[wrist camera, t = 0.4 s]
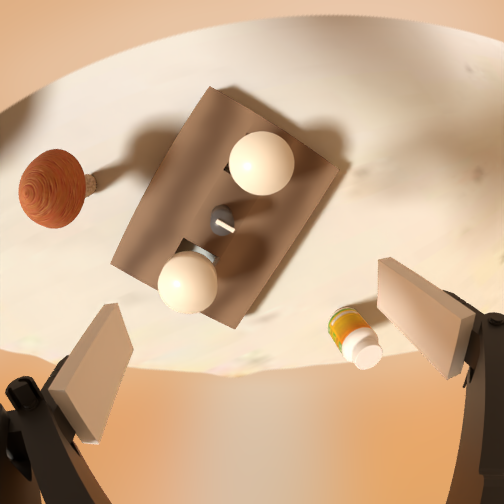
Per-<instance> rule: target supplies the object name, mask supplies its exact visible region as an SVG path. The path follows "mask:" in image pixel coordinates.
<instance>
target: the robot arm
mask: <svg viewBox="0 0 504 504" xmlns="http://www.w3.org/2000/svg"><path fill="white" fill-rule="evenodd" d="M377 308H378V309H379V310H380V311H381V312H382V313H383V314H384V315H385V316H386V317H387V318H388V319H389V320H390V321H391V322H392V323H393V324H394V325H395V326H396V327H397V328H398V329H399V330H400V331H401V332H402V333H403V334H404V335H405V336H406V337H407V338H408V339H409V340H410V342H411V343H412V344H413V345H414V346H415V347H416V348H417V349H418V350H419V351H420V352H421V353H422V354H423V355H424V356H425V357H426V358H427V359H428V360H429V361H430V363H432V365H433V366H434V367H435V368H436V369H437V370H438V371H439V372H440V373H441V374H442V375H443V377H444V378H445V379H447V380H448V379H450V378H452V377H454V376H456V375H458V374H460V373H461V370H462V367H463V364H464V361H465V362H466V363H467V364H468V365H469V370H468V373H467V376H466V379H465V382H464V385H463V388H465V386H466V384H467V387H466V400H465V409H464V418H463V426H462V433H461V439H460V445H459V450H458V456H457V462H456V466H455V470H454V475H453V479H452V483H451V487H450V491H449V495H448V498H447V502H446V504H504V315H503V314H500V313H495V312H494V313H487V314H485V315H484V314H483V313H481V312H480V311H479V310H477V309H476V308H474V307H473V306H471V305H470V304H468V303H466V302H465V301H464V300H462V299H460V297H458V296H457V295H455V294H454V293H451V292H448V291H445V290H441V289H439V288H438V287H436V286H435V285H433V284H432V283H430V282H429V281H427V280H426V279H424V278H423V277H421V276H420V275H418V274H417V273H415V272H413V271H412V270H410V269H409V268H407V267H406V266H404V265H402V264H401V263H399V262H398V261H396V260H395V259H393V258H391V257H389V258H384V259H379V260H378V297H377ZM133 350H134V349H133V346H132V344H131V341H130V338H129V335H128V333H127V330H126V327H125V324H124V321H123V318H122V315H121V312H120V309H119V306H118V303H114V304H106V305H104V306H103V307H102V309H101V310H100V311H99V313H98V314H97V316H96V317H95V318H94V320H93V321H92V323H91V324H90V326H89V327H88V328H87V330H86V331H85V333H84V334H83V336H82V337H81V339H80V340H79V342H78V343H77V345H76V346H75V348H74V349H73V351H72V352H71V354H70V355H67V356H66V357H65V358H63V359H62V360H61V361H60V362H59V363H58V364H57V366H56V368H55V369H54V371H53V372H52V374H51V375H50V377H49V378H48V380H47V382H46V383H45V384H44V386H43V388H42V389H41V391H40V390H39V388H38V387H37V385H36V383H35V381H34V380H33V378H32V377H29V376H23V377H20V378H17V379H15V380H14V381H12V382H11V383H10V384H9V385H8V387H7V389H6V392H5V393H6V395H7V397H8V399H9V400H10V402H11V403H12V405H13V406H14V408H15V409H16V410H12V411H5V409H4V408H3V406H2V405H1V404H0V504H42V503H41V496H40V491H41V493H42V496H43V498H44V501H45V503H46V504H112V503H111V502H110V500H109V499H108V497H107V496H106V494H105V493H104V491H103V490H102V488H101V487H100V485H99V484H98V482H97V480H96V479H95V477H94V475H93V474H92V472H91V471H90V469H89V467H88V465H87V464H86V462H85V460H84V458H83V456H82V455H81V453H80V451H79V449H78V447H77V446H76V444H75V443H74V442H73V438H74V436H75V433H76V434H77V436H78V437H79V439H80V440H81V441H82V443H87V444H100V441H101V438H102V435H103V432H104V429H105V426H106V423H107V420H108V417H109V414H110V411H111V409H112V406H113V403H114V400H115V397H116V395H117V392H118V389H119V386H120V384H121V381H122V378H123V376H124V373H125V370H126V368H127V365H128V363H129V360H130V357H131V355H132V352H133Z"/></svg>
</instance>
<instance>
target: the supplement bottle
mask: <svg viewBox="0 0 504 504" xmlns="http://www.w3.org/2000/svg"><path fill="white" fill-rule="evenodd" d="M327 329H328V332H329V334H330V336H331V337H332V339H333V340H334V342H335V343H336V345H337V347H338V348H339V350H340V351H341V353H342V355H343V356H344V357H345V359H346V360H348V361H350V362H354V364H355V365H356V366H357V367H358V368H359V369H369V368H372V367H373V366H375V365H376V364H377V363H378V362H379V360H380V359H381V357H382V353H383V351H382V348H381V347H380V345H379V344H378V337H377V334H376V333H375V331H374V330H373V329H372V328H371V327H370V326H369V325H368V323H367V322H366V321H365V320H364V319H363V318H362V316H361V315H360V314H359V313H358V312H357V311H356V310H355V309H353V308H350V307H344V308H341V309H338V310H337V311H335V312H334V313H333V314H332V315H331V316H330V318H329V320H328V323H327Z"/></svg>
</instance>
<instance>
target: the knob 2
mask: <svg viewBox="0 0 504 504" xmlns="http://www.w3.org/2000/svg"><path fill="white" fill-rule="evenodd" d="M229 170H230V173H231V176H232V178H233V179H234V181H235V182H236V183H237V184H238V185H239V186H240V187H241V188H242V189H244V190H245V191H247V192H249V193H251V194H255V195H270V194H273V193H275V192H278V191H279V190H281V189H282V188H283V187H285V185H286V184H287V183H288V182H289V180H290V179H291V177H292V174H293V171H294V156H293V153H292V150H291V148H290V147H289V145H288V144H287V142H286V141H285V140H284V139H282V138H281V137H280V136H278V135H276V134H274V133H270V132H265V131H259V132H254V133H250V134H248V135H246V136H244V137H243V138H242V139H240V140H239V141H238V142H237V143H236V144H235V146H234V147H233V149H232V151H231V153H230V156H229Z"/></svg>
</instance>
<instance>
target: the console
mask: <svg viewBox="0 0 504 504" xmlns="http://www.w3.org/2000/svg"><path fill="white" fill-rule="evenodd" d="M259 131H265V132H270V133H274V134H276V135H278V136H280V137H281V138H282V139H284V140H285V141H286V142H287V144H288V145H289V147H290V148H291V150H292V153H293V156H294V171H293V174H292V177H291V179H290V180H289V182H288V183H287V184H286V185H285V187H283V188H282V189H281V190H279V191H278V192H275V193H273V194H270V195H255V194H251V193H249V192H247V191H245V190H244V189H242V188H241V187H240V186H239V185H238V184H237V183H236V182H235V181H234V179H233V178H232V176H231V174H230V173H228V172H226V171H225V170H224V168H225V166H226V165H227V163H228V162H229V156H230V153H231V151H232V149H233V147H234V146H235V144H236V143H237V142H238V141H239V140H240V139H242V138H243V137H244V136H245V135H248V134H250V133H254V132H259ZM338 172H339V169H338V168H337V167H335V166H334V165H333V164H331V163H330V162H328V161H327V160H326V159H324V158H323V157H322V156H320V155H319V154H317V153H316V152H314V151H313V150H312V149H310V148H309V147H307V146H306V145H304V144H303V143H301V142H300V141H299V140H297V139H296V138H294V137H293V136H291V135H290V134H288V133H287V132H285V131H284V130H282V129H280V128H279V127H277V126H276V125H274V124H273V123H271V122H270V121H268V120H266V119H265V118H263V117H262V116H260V115H258V114H257V113H255V112H254V111H252V110H250V109H249V108H247V107H245V106H244V105H242V104H240V103H238V102H237V101H235V100H233V99H232V98H230V97H228V96H226V95H225V94H223V93H221V92H219V91H218V90H216V89H214V88H212V87H210V86H209V88H208V89H207V91H206V92H205V94H204V95H203V97H202V98H201V100H200V101H199V103H198V104H197V106H196V107H195V109H194V110H193V112H192V113H191V115H190V116H189V118H188V119H187V121H186V123H185V124H184V126H183V127H182V129H181V131H180V132H179V134H178V135H177V137H176V139H175V140H174V142H173V144H172V145H171V147H170V149H169V150H168V152H167V154H166V155H165V157H164V159H163V161H162V162H161V164H160V166H159V168H158V169H157V171H156V173H155V175H154V177H153V178H152V180H151V182H150V184H149V186H148V188H147V189H146V191H145V193H144V195H143V197H142V199H141V201H140V203H139V205H138V207H137V209H136V210H135V212H134V214H133V216H132V218H131V220H130V222H129V225H128V227H127V229H126V231H125V233H124V235H123V237H122V239H121V241H120V243H119V246H118V248H117V250H116V252H115V254H114V256H113V259H112V261H111V263H110V264H112V265H113V266H115V267H117V268H118V269H120V270H122V271H124V272H125V273H127V274H129V275H131V276H132V277H134V278H136V279H138V280H140V281H141V282H143V283H145V284H147V285H149V286H151V287H152V288H154V289H156V290H158V279H159V276H160V274H161V271H162V269H163V267H164V265H165V263H166V262H167V260H168V259H169V258H170V257H172V256H173V255H174V253H175V252H176V250H177V248H178V246H179V244H180V243H181V241H182V239H183V238H185V239H187V240H188V241H190V242H192V243H194V244H195V245H197V246H199V247H201V248H203V249H204V250H206V251H208V252H210V253H212V254H213V255H215V256H217V257H216V258H215V260H214V262H213V263H212V264H213V265H214V267H215V270H216V273H217V294H216V297H215V299H214V301H213V302H212V304H211V305H210V306H209V307H207V308H206V309H205V310H203V311H201V312H200V313H202V314H204V315H206V316H208V317H210V318H212V319H214V320H216V321H218V322H221V323H223V324H225V325H227V326H229V327H231V328H233V329H236V327H237V326H238V324H239V323H240V321H241V320H242V319H243V317H244V316H245V314H246V313H247V311H248V310H249V308H250V307H251V305H252V304H253V302H254V301H255V299H256V298H257V296H258V295H259V293H260V292H261V290H262V289H263V287H264V286H265V284H266V283H267V281H268V280H269V278H270V277H271V275H272V274H273V272H274V271H275V269H276V268H277V266H278V265H279V263H280V262H281V260H282V259H283V257H284V256H285V254H286V253H287V251H288V250H289V248H290V247H291V245H292V244H293V242H294V241H295V239H296V237H297V236H298V234H299V233H300V231H301V230H302V228H303V227H304V225H305V224H306V222H307V220H308V219H309V217H310V216H311V214H312V213H313V211H314V210H315V208H316V206H317V205H318V203H319V202H320V200H321V199H322V197H323V195H324V194H325V192H326V191H327V189H328V187H329V186H330V184H331V183H332V181H333V180H334V178H335V176H336V175H337V173H338ZM218 205H225V206H227V207H229V208H230V210H231V212H232V215H233V218H234V222H235V226H234V229H235V230H234V232H233V233H232V232H231V233H230V234H228V235H226V236H219V235H217V234H215V233H214V232H213V231H212V229H211V226H210V221H211V212H212V210H213V209H214V208H215V207H216V206H218Z"/></svg>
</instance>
